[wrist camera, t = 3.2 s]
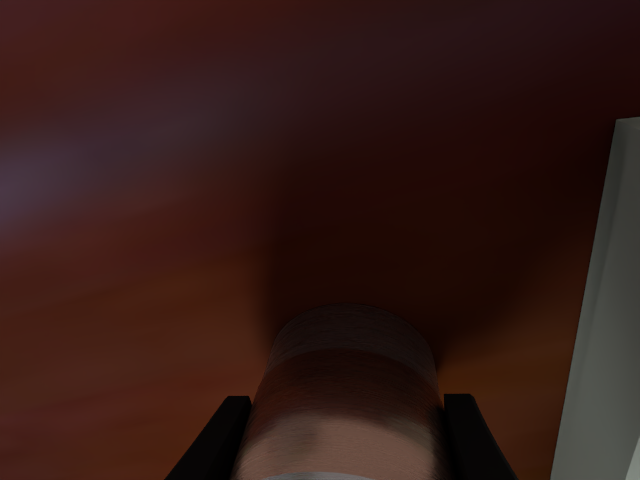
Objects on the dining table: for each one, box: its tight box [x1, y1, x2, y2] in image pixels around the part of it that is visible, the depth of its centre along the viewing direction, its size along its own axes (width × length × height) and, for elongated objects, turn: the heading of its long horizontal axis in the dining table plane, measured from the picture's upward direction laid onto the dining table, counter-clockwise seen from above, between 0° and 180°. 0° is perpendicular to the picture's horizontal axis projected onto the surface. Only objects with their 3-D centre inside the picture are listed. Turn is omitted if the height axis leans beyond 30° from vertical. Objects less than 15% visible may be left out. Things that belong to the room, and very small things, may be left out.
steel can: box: [229, 303, 456, 480], centre depth 10 cm, size 5×5×6 cm
